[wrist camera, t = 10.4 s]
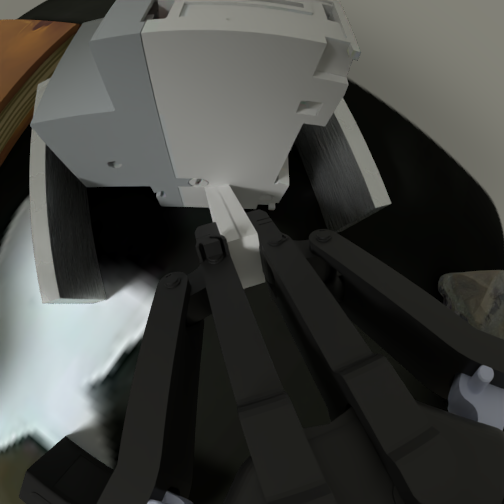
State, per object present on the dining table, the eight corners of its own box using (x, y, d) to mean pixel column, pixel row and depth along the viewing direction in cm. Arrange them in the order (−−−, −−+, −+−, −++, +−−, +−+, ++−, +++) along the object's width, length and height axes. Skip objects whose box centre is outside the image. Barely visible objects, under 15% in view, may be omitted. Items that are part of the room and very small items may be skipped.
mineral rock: (452, 415, 21) (523, 439, 11) (386, 389, 20) (470, 424, 11) (494, 302, 23) (564, 296, 13) (439, 254, 23) (523, 232, 13)
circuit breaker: (104, 124, 21) (41, -15, 6) (272, 125, 23) (327, -34, 8) (86, 206, 20) (-38, 85, 5) (274, 210, 21) (369, 54, 7)
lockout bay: (92, 303, 19) (42, 303, 12) (70, 126, 20) (38, 80, 14) (342, 230, 22) (391, 203, 15) (277, 75, 24) (294, 21, 17)
